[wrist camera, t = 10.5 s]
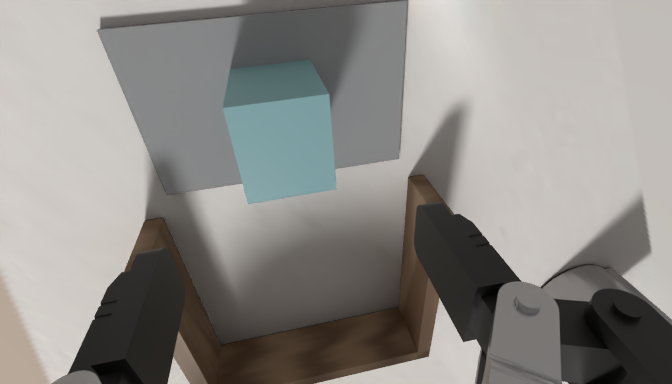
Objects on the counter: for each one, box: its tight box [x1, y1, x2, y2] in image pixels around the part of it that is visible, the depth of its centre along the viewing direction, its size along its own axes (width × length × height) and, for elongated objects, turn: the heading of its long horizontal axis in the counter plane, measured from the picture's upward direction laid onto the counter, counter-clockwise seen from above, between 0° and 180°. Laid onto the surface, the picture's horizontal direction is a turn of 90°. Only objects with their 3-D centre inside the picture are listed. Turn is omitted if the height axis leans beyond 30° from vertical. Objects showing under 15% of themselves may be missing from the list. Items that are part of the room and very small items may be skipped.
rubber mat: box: [97, 0, 407, 195], centre depth 21 cm, size 16×10×1 cm, turn 93°
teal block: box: [223, 60, 336, 204], centre depth 18 cm, size 4×5×6 cm
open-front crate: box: [124, 175, 454, 384], centre depth 28 cm, size 20×17×5 cm
